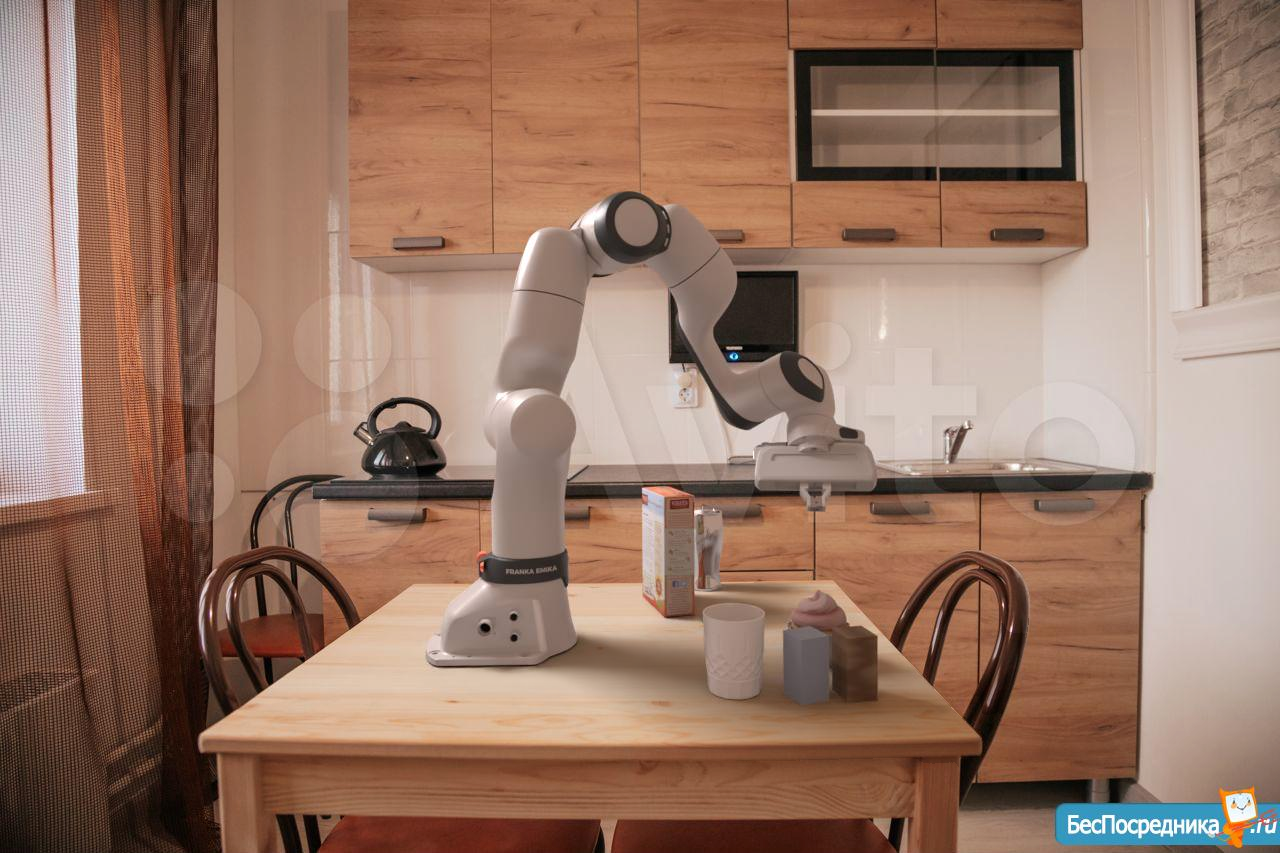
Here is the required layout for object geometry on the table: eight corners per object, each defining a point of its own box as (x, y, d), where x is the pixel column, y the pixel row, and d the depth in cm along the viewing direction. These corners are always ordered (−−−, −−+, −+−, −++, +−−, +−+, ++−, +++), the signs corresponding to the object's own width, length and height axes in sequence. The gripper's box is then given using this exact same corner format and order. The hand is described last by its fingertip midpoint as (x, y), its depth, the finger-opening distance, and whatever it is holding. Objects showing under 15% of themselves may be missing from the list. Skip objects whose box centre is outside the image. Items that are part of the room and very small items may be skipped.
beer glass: (725, 591, 133) (724, 514, 133) (689, 592, 133) (688, 514, 133) (721, 582, 140) (721, 508, 140) (687, 582, 140) (686, 508, 140)
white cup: (778, 693, 87) (778, 614, 87) (728, 707, 83) (727, 625, 83) (739, 672, 94) (739, 599, 94) (691, 684, 90) (690, 609, 90)
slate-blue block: (801, 705, 84) (801, 640, 84) (783, 692, 88) (783, 630, 87) (829, 699, 85) (829, 635, 85) (810, 687, 89) (809, 625, 89)
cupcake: (774, 651, 102) (774, 583, 101) (832, 644, 104) (831, 578, 104) (805, 675, 93) (804, 601, 92) (867, 667, 95) (867, 595, 95)
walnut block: (847, 703, 84) (847, 638, 84) (832, 689, 88) (832, 627, 88) (877, 700, 85) (877, 635, 85) (861, 687, 89) (861, 625, 89)
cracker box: (697, 615, 119) (696, 494, 118) (663, 618, 118) (662, 496, 117) (672, 593, 133) (670, 484, 132) (641, 596, 131) (640, 486, 130)
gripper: (752, 432, 122) (752, 499, 114) (873, 431, 118) (882, 500, 110) (753, 453, 127) (752, 518, 119) (869, 452, 123) (877, 520, 115)
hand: (816, 509), depth 114 cm, fingers closed
